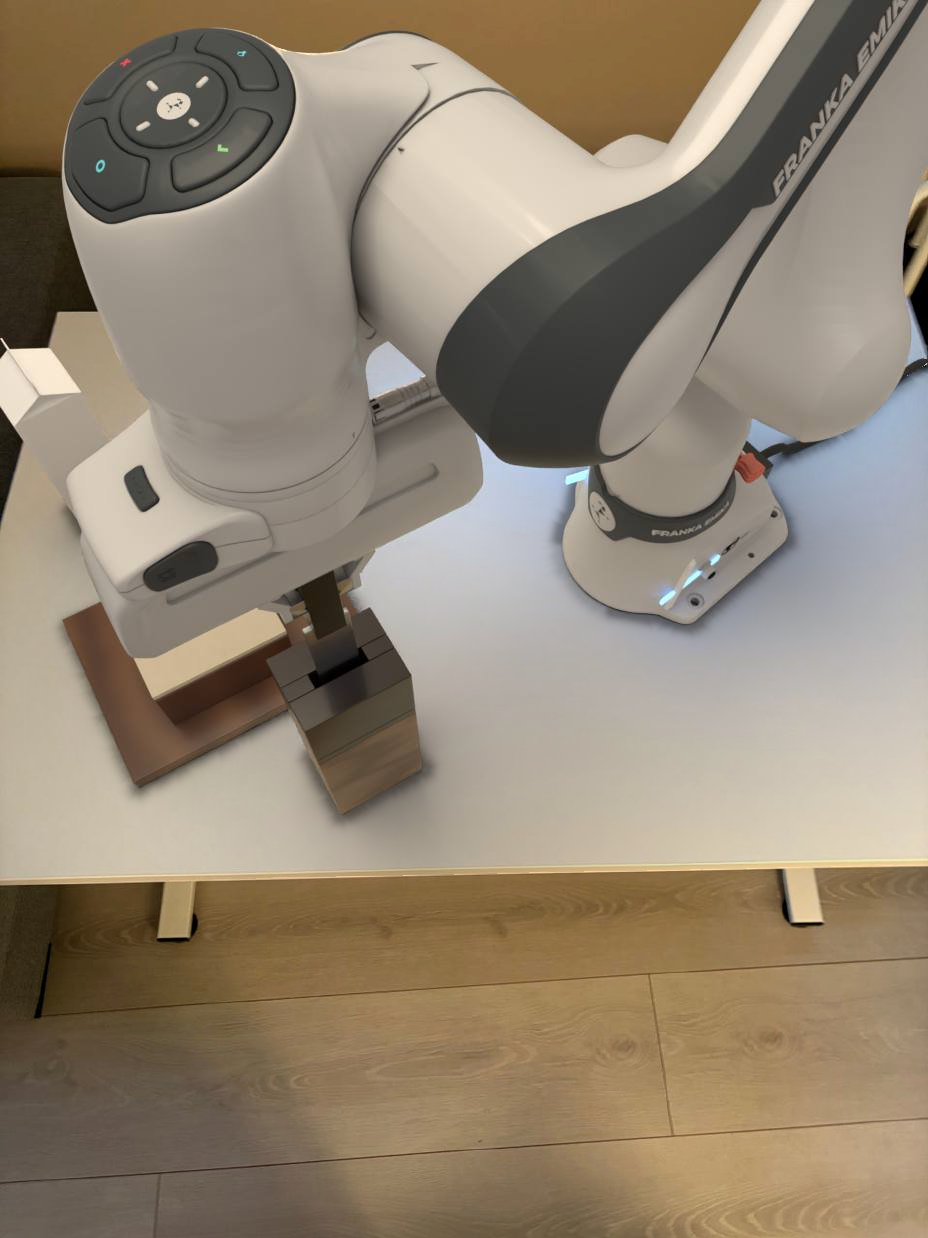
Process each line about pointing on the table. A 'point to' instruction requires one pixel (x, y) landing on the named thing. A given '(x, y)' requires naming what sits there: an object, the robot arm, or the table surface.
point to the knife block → (354, 715)
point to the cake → (214, 664)
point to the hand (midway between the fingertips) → (317, 595)
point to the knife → (328, 629)
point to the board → (137, 716)
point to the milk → (48, 413)
